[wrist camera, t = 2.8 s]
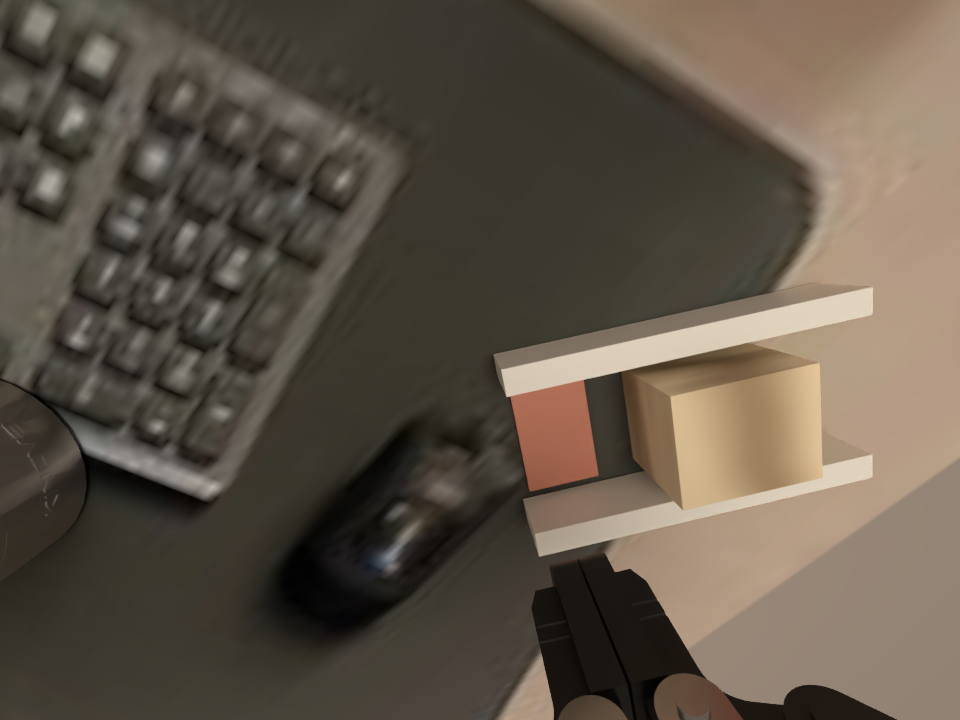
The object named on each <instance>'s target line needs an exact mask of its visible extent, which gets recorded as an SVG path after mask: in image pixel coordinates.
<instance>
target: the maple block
mask: <svg viewBox="0 0 960 720" xmlns="http://www.w3.org/2000/svg"><path fill="white" fill-rule="evenodd" d="M621 374H622V381H623V389H624V396H625V403H626V411H627V418H628V425H629V433H630V440H631V447H632V455H633V459H634V460H635V461H636V462H637V463H638V464H639V465H640V466H641V467H642V468H643V469H644V470H645V472H646V473H647V474H648V475H649V476H650V477H651V478H652V479H653V480H654V481H655V482H656V483H657V484H658V485H659V486H660V487H661V488H662V489H663V490H664V491H665V492H666V493H667V495H668V496H669V497H670V498H671V499H672V500H673V501H674V502H675V503H676V504H677V505H678V506H679V507H680V508H681V509H682V510H683V511H684V510H688V509H692V508H697V507H701V506H705V505H709V504H714V503H718V502H722V501H726V500H731V499H735V498H739V497H743V496H747V495H752V494H756V493H760V492H764V491H769V490H773V489H777V488H781V487H786V486H790V485H794V484H798V483H802V482H807V481H811V480H815V479H819V478H823V469H822V433H821V396H820V363H819V362H815V361H812V360H808V359H804V358H801V357H797V356H793V355H790V354H786V353H782V352H779V351H775V350H771V349H768V348H764V347H760V346H757V345H753V344H749V343H745V344H740V345H736V346H732V347H727V348H723V349H718V350H714V351H709V352H705V353H700V354H696V355H692V356H687V357H683V358H678V359H674V360H669V361H665V362H661V363H656V364H652V365H647V366H643V367H638V368H634V369H629V370H625V371H621Z"/></svg>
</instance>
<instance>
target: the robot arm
mask: <svg viewBox="0 0 960 720" xmlns="http://www.w3.org/2000/svg"><path fill="white" fill-rule="evenodd" d="M86 488H87V483H86V471H85V465H84V462H83V459H82V456H81V453H80V450H79V447H78V445H77V444H76V442H75V440H74V439H73V437H72V435H71V434H70V432H69V430H68V429H67V427H66V426H65V425H64V424H63V423H62V422H61V421H60V420H59V418H58V417H57V416H56V415H55V414H54V413H53V412H52V411H51V410H50V409H49V408H47V407H46V406H45V405H44V404H42V403H41V402H40V401H38V400H37V399H36V398H35V397H33V396H32V395H30V394H28V393H26V392H24V391H22V390H21V389H19V388H17V387H15V386H13V385H11V384H9V383H6V382H3V381H0V582H1V581H2V580H3V579H5V578H6V577H7V576H9V575H10V574H12V573H13V572H14V571H16V570H17V569H18V568H20V567H21V566H22V565H24V564H25V563H26V562H28V561H29V560H31V559H32V558H33V557H35V556H36V555H37V554H39V553H40V552H41V551H43V550H44V549H46V548H47V547H48V546H50V545H51V544H52V543H54V542H55V541H56V540H58V539H59V538H60V537H62V536H63V535H64V534H65V533H66V532H67V531H68V530H69V528H70V527H71V526H72V525H73V524H74V522H75V521H76V520H77V517H78V515H79V513H80V511H81V509H82V507H83V505H84V499H85V493H86ZM577 562H578V563H577ZM550 572H551V577H552V581H553V586H554V587H551V588H546V589H542V590H538V591H536V592H535V596H534V600H533V604H532V613H533V617H534V622H535V626H536V631H537V635H538V640H539V644H540V648H541V653H542V657H543V662H544V666H545V671H546V675H547V679H548V684H549V688H550V693H551V697H552V702H553V707H554V720H896V719H894V718H892V717H890V716H888V715H886V714H884V713H882V712H880V711H877V710H876V709H873V708H872V707H869V706H867V705H865V704H863V703H861V702H859V701H857V700H855V699H853V698H851V697H849V696H847V695H845V694H843V693H840V692H838V691H836V690H833V689H830V688H827V687H823V686H818V685H803V686H799V687H796V688H794V689H793V690H791V691H790V692H789V693H788V694H787V696H786V697H785V700H784V705H777V704H768V703H758V702H750V701H744V700H741V699H737V698H735V697H732V696H730V695H728V694H726V693H724V692H722V691H721V690H720V689H719V688H718V687H717V686H716V685H715V684H713V683H712V682H710V681H709V680H707V679H706V678H705V677H704V676H703V674H702V673H701V671H700V670H699V668H698V667H697V665H696V663H695V662H694V660H693V659H692V657H691V655H690V653H689V652H688V650H687V648H686V647H685V645H684V643H683V642H682V640H681V638H680V637H679V635H678V633H677V632H676V630H675V628H674V627H673V625H672V623H671V622H670V620H669V618H668V617H667V616H666V614H665V612H664V610H663V608H662V607H661V605H660V603H659V602H658V601H657V599H656V597H655V595H654V593H653V592H652V590H651V588H650V587H649V585H648V583H647V582H646V581H645V580H644V579H643V578H641V577H640V576H639V575H637V574H636V573H635V572H633V571H632V570H631V569H628V570H623V571H619V572H614V570H613V568H612V566H611V564H610V562H609V560H608V558H607V556H606V555H605V553H601V554H596V555H592V556H588V557H583V558H579V559H577V561H576V560H571V561H567V562H562V563H558V564H554V565H550Z"/></svg>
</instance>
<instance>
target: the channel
mask: <svg viewBox="0 0 960 720" xmlns="http://www.w3.org/2000/svg"><path fill="white" fill-rule="evenodd" d="M869 315H873V287H868V286H852V285H836V284H821V283H813V284H808V285H804V286H799V287H795V288H790V289H786V290H781V291H777V292H772V293H768V294H763V295H759V296H754V297H750V298H745V299H741V300H736V301H732V302H727V303H723V304H718V305H714V306H709V307H705V308H700V309H696V310H691V311H687V312H682V313H678V314H673V315H669V316H664V317H660V318H655V319H651V320H646V321H642V322H637V323H633V324H628V325H624V326H619V327H615V328H610V329H606V330H601V331H597V332H592V333H588V334H583V335H579V336H574V337H570V338H565V339H561V340H556V341H551V342H547V343H542V344H538V345H533V346H529V347H524V348H520V349H515V350H511V351H506V352H502V353H497V354H493V356H494V361H495V366H496V371H497V376H498V379H499V381H500V384H501V386H502V388H503V390H504V392H505V395H506V397H510V398H511V403H512V408H513V413H514V418H515V423H516V428H517V433H518V438H519V443H520V448H521V453H522V458H523V463H524V467H525V472H526V477H527V482H528V487H529V491H535V490H539V489H543V488H548V487H552V486H556V485H561V484H565V483H569V482H573V481H578V480H582V479H586V478H591V477H595V476H599V474H598V468H597V462H596V455H595V449H594V443H593V437H592V430H591V424H590V418H589V411H588V405H587V399H586V393H585V386H584V380H585V379H590V378H594V377H598V376H603V375H607V374H612V373H616V372H621V371H625V370H629V369H634V368H638V367H643V366H647V365H652V364H656V363H661V362H665V361H669V360H674V359H678V358H683V357H687V356H692V355H696V354H700V353H705V352H709V351H714V350H718V349H723V348H727V347H732V346H736V345H740V344H745V343H749V342H754V341H758V340H763V339H767V338H771V337H776V336H780V335H785V334H789V333H794V332H798V331H803V330H807V329H811V328H816V327H820V326H825V325H829V324H834V323H838V322H842V321H847V320H851V319H856V318H860V317H865V316H869ZM821 433H822V469H823V478H819V479H815V480H811V481H807V482H802V483H798V484H794V485H790V486H786V487H781V488H777V489H773V490H769V491H764V492H760V493H756V494H752V495H747V496H743V497H739V498H735V499H731V500H726V501H722V502H718V503H714V504H709V505H705V506H701V507H697V508H692V509H688V510H684V511H683V510H682V509H681V508H680V507H679V506H678V505H677V504H676V503H675V502H674V501H673V500H672V499H671V498H670V497H669V496H668V495H667V493H666V492H665V491H664V490H663V489H662V488H661V487H660V486H659V485H658V484H657V483H656V482H655V481H654V480H653V479H652V478H651V477H650V476H649V475H648V474H647V473H646V472H645V471H641V472H637V473H632V474H628V475H624V476H619V477H615V478H611V479H607V480H602V481H598V482H594V483H589V484H585V485H581V486H577V487H572V488H568V489H564V490H559V491H555V492H551V493H546V494H542V495H538V496H534V497H529V498H525V499H523V502H524V507H525V511H526V516H527V520H528V523H529V527H530V530H531V533H532V536H533V539H534V542H535V545H536V548H537V551H538V555H539V557H540V556H544V555H549V554H553V553H557V552H561V551H565V550H570V549H574V548H578V547H582V546H586V545H591V544H595V543H599V542H603V541H608V540H612V539H616V538H620V537H624V536H629V535H633V534H637V533H641V532H645V531H650V530H654V529H658V528H662V527H666V526H671V525H675V524H679V523H683V522H688V521H692V520H696V519H700V518H704V517H709V516H713V515H717V514H721V513H725V512H730V511H734V510H738V509H742V508H746V507H751V506H755V505H759V504H763V503H768V502H772V501H776V500H780V499H784V498H789V497H793V496H797V495H801V494H805V493H810V492H814V491H818V490H822V489H826V488H831V487H835V486H839V485H843V484H848V483H852V482H856V481H860V480H864V479H869V478H872V454H870V453H868V452H866V451H864V450H861V449H859V448H857V447H855V446H853V445H850V444H848V443H846V442H844V441H842V440H839V439H837V438H835V437H833V436H831V435H828V434H826V433H824V432H822V431H821Z"/></svg>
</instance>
